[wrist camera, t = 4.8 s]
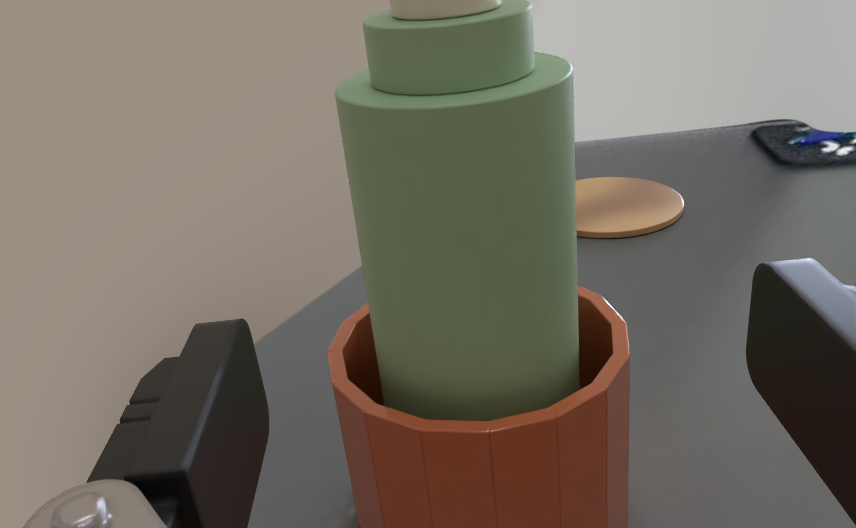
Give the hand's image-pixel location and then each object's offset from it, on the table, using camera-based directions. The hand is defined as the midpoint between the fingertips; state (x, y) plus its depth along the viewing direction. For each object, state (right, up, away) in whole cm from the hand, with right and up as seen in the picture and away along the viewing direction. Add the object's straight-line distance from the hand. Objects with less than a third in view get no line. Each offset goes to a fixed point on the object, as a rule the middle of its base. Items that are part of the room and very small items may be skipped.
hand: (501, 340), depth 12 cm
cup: (+1, -7, +13) cm, 15 cm away
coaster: (+10, +5, +35) cm, 37 cm away
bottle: (+1, -7, +13) cm, 14 cm away
